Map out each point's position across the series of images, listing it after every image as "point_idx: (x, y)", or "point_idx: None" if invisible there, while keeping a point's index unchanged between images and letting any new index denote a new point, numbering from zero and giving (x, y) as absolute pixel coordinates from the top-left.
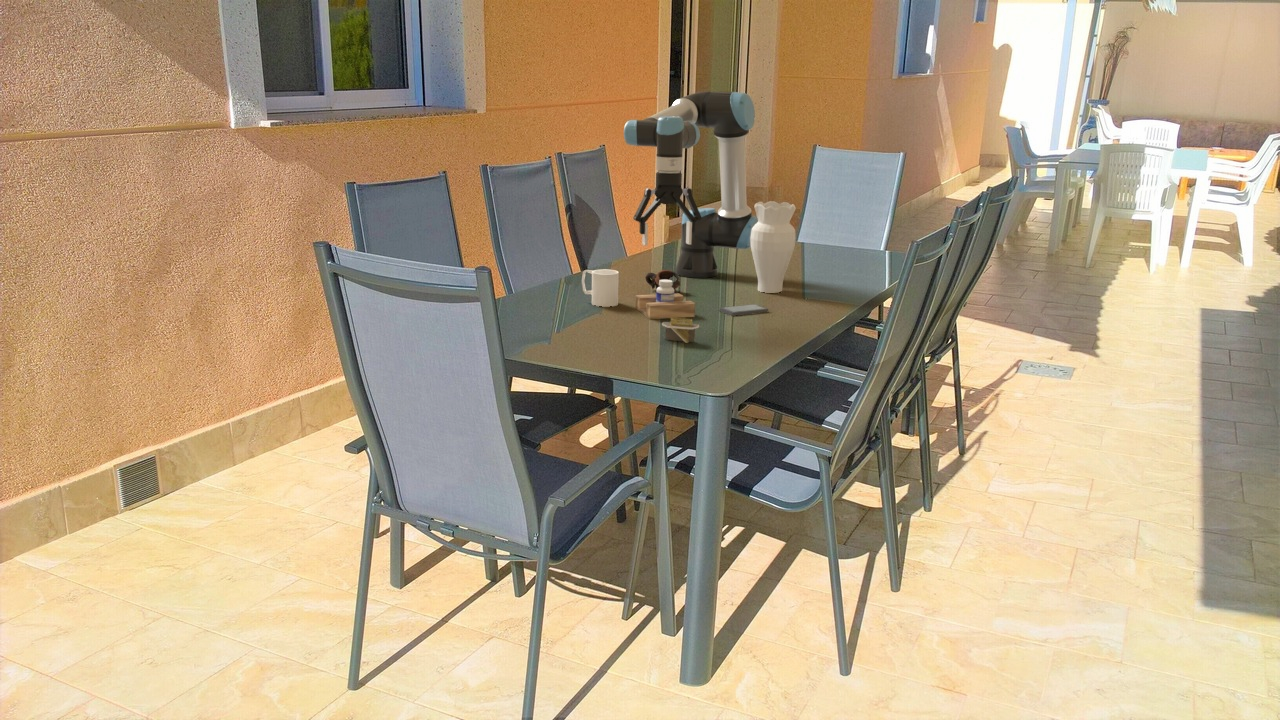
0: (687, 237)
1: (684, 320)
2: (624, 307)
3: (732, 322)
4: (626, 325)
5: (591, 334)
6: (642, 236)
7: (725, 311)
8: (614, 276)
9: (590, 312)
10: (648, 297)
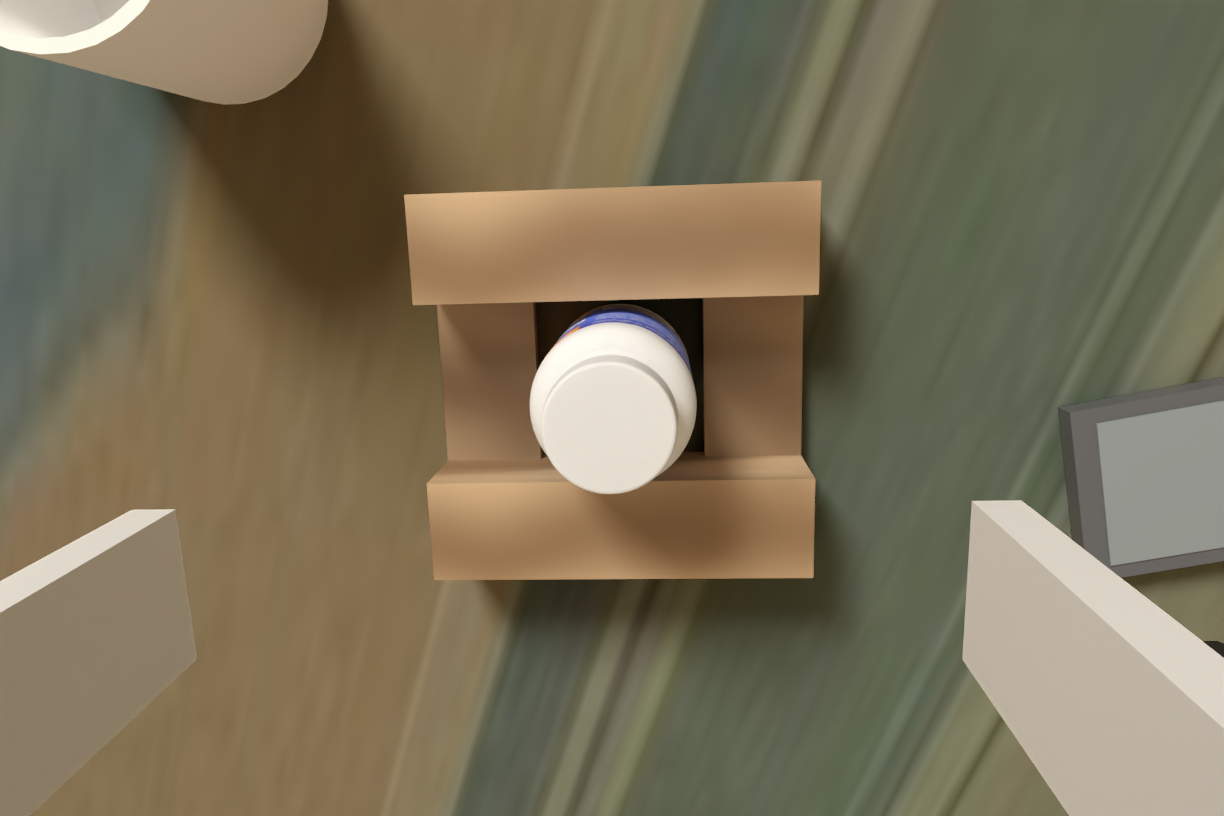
0: (1013, 635)
1: None
2: (355, 151)
3: (994, 731)
4: (271, 661)
5: None
6: (30, 571)
7: (1073, 494)
8: (135, 36)
9: (77, 267)
10: (494, 295)
